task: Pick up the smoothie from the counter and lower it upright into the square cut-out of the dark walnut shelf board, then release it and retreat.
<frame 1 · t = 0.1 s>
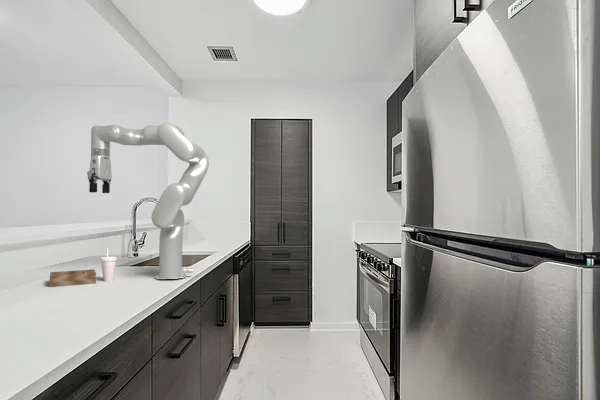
hand: (99, 192, 180), 37 cm above the worktop, tool pointing down, fingers open, 9 cm apart
smoothie: (108, 281, 170), on the worktop
cutout board: (73, 282, 166), on the worktop
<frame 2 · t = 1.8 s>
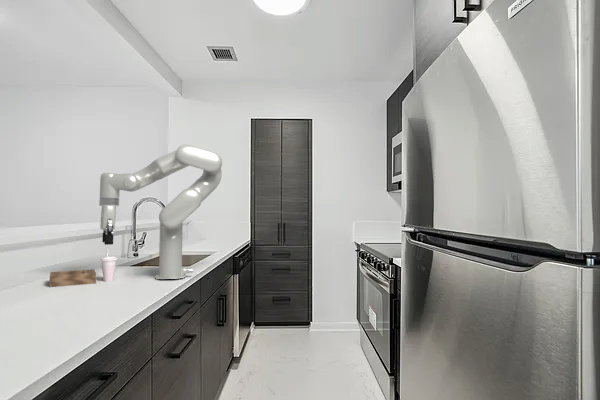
hand: (107, 243, 171), 16 cm above the worktop, tool pointing down, fingers open, 9 cm apart
nothing on the worktop moved.
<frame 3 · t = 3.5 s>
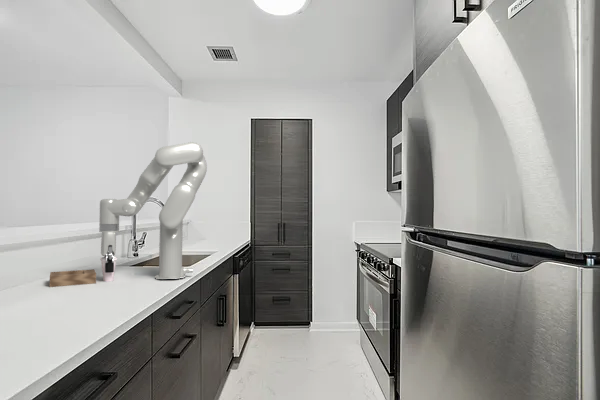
hand: (108, 270, 171), 4 cm above the worktop, tool pointing down, fingers closed on smoothie, 6 cm apart
smoothie: (108, 281, 170), on the worktop, touching gripper
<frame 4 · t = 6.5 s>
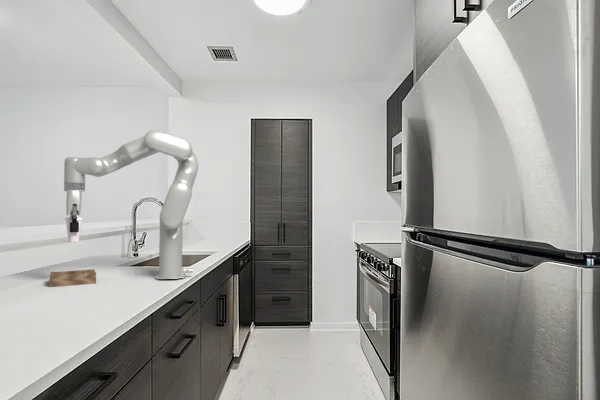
hand: (74, 231, 166), 21 cm above the worktop, tool pointing down, fingers closed on smoothie, 6 cm apart
smoothie: (73, 241, 166), point 17 cm above the worktop, touching gripper
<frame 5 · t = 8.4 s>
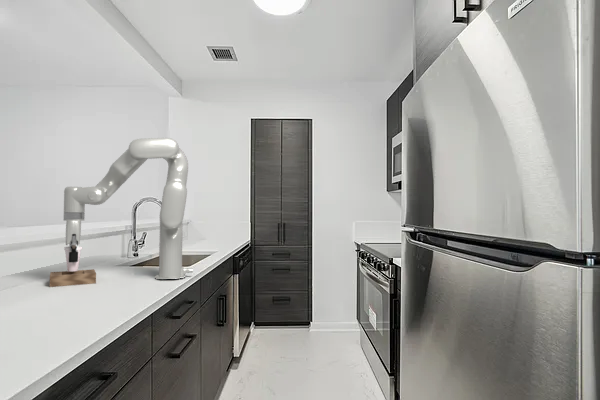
hand: (73, 260, 166), 9 cm above the worktop, tool pointing down, fingers closed on smoothie, 6 cm apart
smoothie: (72, 271, 166), point 5 cm above the worktop, touching gripper
when the fingers open (5 cm above the worktop, at t = 9.7 s): smoothie drops 1 cm, resting in cutout board.
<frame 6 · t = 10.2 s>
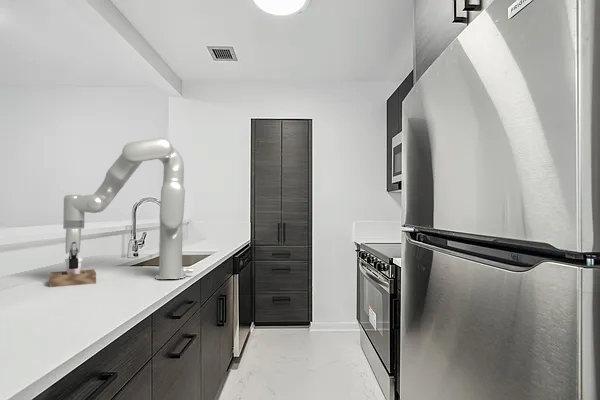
hand: (73, 267, 166), 6 cm above the worktop, tool pointing down, fingers open, 9 cm apart
smoothie: (73, 283, 166), resting in cutout board
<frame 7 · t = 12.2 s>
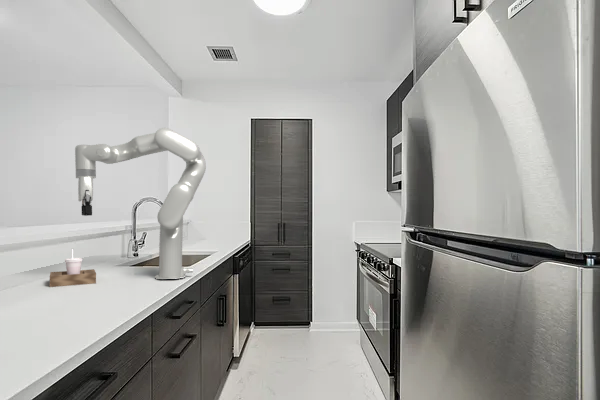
hand: (86, 215, 171), 27 cm above the worktop, tool pointing down, fingers open, 9 cm apart
nothing on the worktop moved.
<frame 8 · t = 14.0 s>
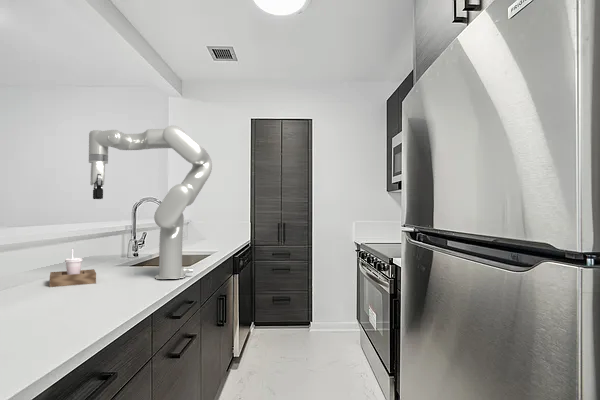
hand: (97, 198, 176), 34 cm above the worktop, tool pointing down, fingers open, 9 cm apart
nothing on the worktop moved.
at the end: smoothie 0.2 cm off-centre on the cutout board, point 0.0 cm above the cutout board's base; smoothie tilted 0°; the gripper is holding nothing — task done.
